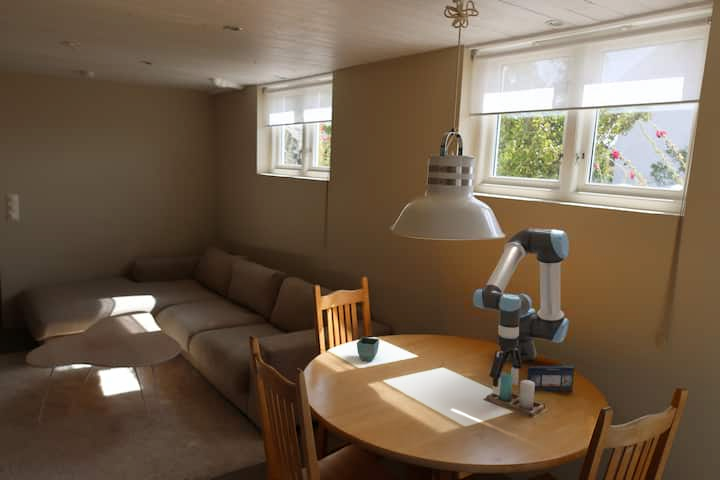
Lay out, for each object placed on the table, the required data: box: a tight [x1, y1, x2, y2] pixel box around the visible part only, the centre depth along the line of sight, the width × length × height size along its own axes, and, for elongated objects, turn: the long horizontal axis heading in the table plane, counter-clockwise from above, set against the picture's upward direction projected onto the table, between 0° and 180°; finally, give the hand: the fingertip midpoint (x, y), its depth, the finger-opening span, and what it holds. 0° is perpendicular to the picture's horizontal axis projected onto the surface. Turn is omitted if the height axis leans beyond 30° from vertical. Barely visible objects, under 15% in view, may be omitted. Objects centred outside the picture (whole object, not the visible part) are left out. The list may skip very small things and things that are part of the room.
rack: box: [482, 392, 550, 420], centre depth 197 cm, size 12×21×2 cm, turn 44°
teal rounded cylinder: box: [498, 372, 513, 403], centre depth 199 cm, size 5×5×10 cm
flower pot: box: [356, 336, 380, 362], centre depth 242 cm, size 9×9×9 cm
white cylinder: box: [519, 379, 535, 411], centre depth 193 cm, size 5×5×10 cm
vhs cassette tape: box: [526, 365, 575, 392], centre depth 211 cm, size 18×3×10 cm, turn 89°
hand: (505, 388), depth 200 cm, fingers open, 12 cm apart
